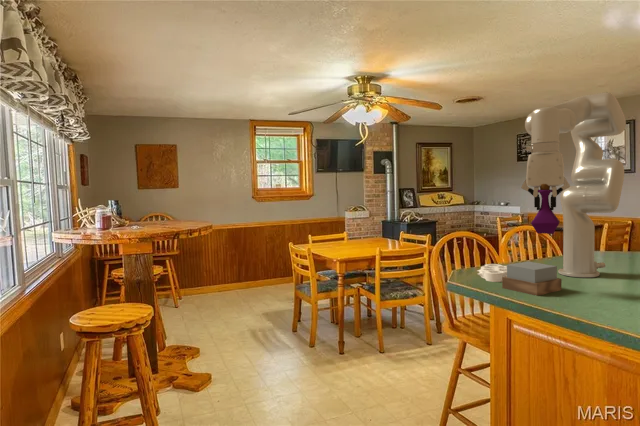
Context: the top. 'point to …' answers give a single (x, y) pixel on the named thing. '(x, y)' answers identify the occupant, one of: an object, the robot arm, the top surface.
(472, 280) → the top surface
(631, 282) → the top surface
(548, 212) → the perfume bottle
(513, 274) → the tower top
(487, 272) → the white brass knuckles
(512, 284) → the tower bottom
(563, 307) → the top surface
